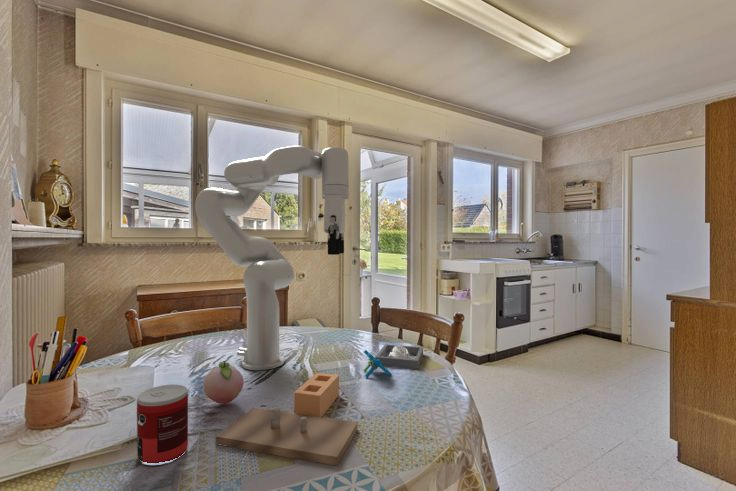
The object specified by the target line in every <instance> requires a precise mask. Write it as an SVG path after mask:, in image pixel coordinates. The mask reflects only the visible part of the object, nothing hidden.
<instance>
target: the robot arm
mask: <svg viewBox="0 0 736 491" xmlns="http://www.w3.org/2000/svg"><path fill="white" fill-rule="evenodd" d="M349 164H350V163H349V152H348V150H346V148H342V147H337V146H334V147H333V146H331V147H327V148H324V149H323V150H322V152H321V153H320V152H318V151H315V150H314V149H311V148H309V147H306V146H304V145H291V146H290V145H289V146H286V147H285V146H284V147H280V148H275V149H273V150H271V151H270V152H269V153H267V154H266V155H265V156H259V157H252V158H247V159H241V160H236V161H233V162H230V163H229V164H227V166H226V167H225V169H224V172H223V173H224V174H223V176H224V179H225V180H226V183H228V184H229V185H230V186H231V187H234V188H236V190H231V189H225V188H224V189H223V188H221V187H219V188H218V187H208V188H204V189H202V190H201V191H200V192H198V194H197V196H196V199H195V204H194V205H195V206H194V209H195V214H196V217H197V219H198V222H199V223H200V225H201V226H202V228H204V230H205V231H206V232H207V233H208V234H209V236H211V238H212V239H214V241H215V242H216V244H218V246H219V247H220V248H221V249H222V250H223V252H224V254H225V255H226V256H227V257H228V258H229V260H230V261H231V262H232V263H233V264H234V265H235V266H238V267H246V268H245V270H244V272H243V278H242V280H243V285H244V291H245V298H246V319H247V320H246V326H247V327H246V332H247V333H246V339H247V340H246V342H247V343H246V347H239V348H238V351H237V352H236V356H239V357H243V359H242V361H241V366H242V368H243V369H246V370H249V371H268V370H271V369H275V368H278V367H281V366H282V365H284V363H285V357H284V356H283V355H281V354H280V302H279V299H278V296H277V293H276V291H277V290H280V289H285V288H288V286H290V285H291V284H292V283H293V281H294V278H295V271H294V268H293V266H292V264H291V263H290V261H289V260H288V259H287V258H286V257H285V255H283V253H282V252H281V251H280V249H279V248H277V247H276V245H275V244H274V243H273V242H272V241H271V240H269V238H268V239H267V238H266V237H262V236H251V235H248V234H247V233H246V232H245V231H244V230H243V229H242V228H241V226H240V225H239V224H238V223H237V222H236V221H234V220H233V219H231V218H230V217H240V216H243V215H245V214H246V213H247V212H249V210H250V209H251V208H252V207H253V205H254V204H255V203H256V201H257V200H258V198H259V197H260V196H261V194H262V193H263V192H264V190H265V189H266V186H271V185H274V184H276V183H278V181H279V178H280V176H284V175H291V174H298V175H301V176H304V177H308V178H311V179H313V180H318V179H321V199H323V200H324V209H323V232H324V233H325V234H327V255H329V256H330V255H332V256H333V255H335V256H336V255H337V256H338V255H340V254H344V253H345V239H344V233H345V231H346V229H345V228H346V200H348V199H350V192H349V191H350V190H349V189H350V187H349V186H350V184H349V182H350V181H349V179H350V178H349V177H350V176H349V174H350V172H349V169H350V168H349Z"/></svg>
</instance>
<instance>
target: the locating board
mask: <svg viewBox="0 0 736 491" xmlns="http://www.w3.org/2000/svg"><path fill="white" fill-rule="evenodd" d="M358 426H359V423H358V421H352V420H344V419H337V418H330V417H324V416H322V417H317V416H310V415H303V414H296V413H294V412H288V411H281V407H279V406H275V407H272V408H270V409H267V408H260V407H251V408H249V409H248V410H247V411H246V412H245V413H243V414H242V415H241V416H239V418H237V419H236V420H234V421H233V422H232V423H231V424H229V426H227V427H226V428H225V429H223V430H222V431H221V432H219V433H218V434H217V435H216V436H215V445H217V444H221V445H220V446H222V445H226V446H225V447H228V446H230V447H229V448H233V449H234V448H235V449H240V450H241V449H242V450H245V451H250V452H251V451H252V452H258V453H263V454H268V455H274V456H279V457H285V458H291V459H297V460H301V459H302V460H303V461H308V462H315V463H318V462H319V464H325V465H331V466H336V467H338V465H339V463H340V461H341V460H342V457H343V456H344V454H345V453H346V451H347V450H348V447H349V445H350V444H351V442H352V440H353V439H354V437H355V435H356V433H357V431H358V428H359V427H358Z"/></svg>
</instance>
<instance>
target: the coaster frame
mask: <svg viewBox="0 0 736 491" xmlns="http://www.w3.org/2000/svg"><path fill="white" fill-rule="evenodd" d="M395 346H402V347H404V348H406V349H407V351H408V353H409V355H411V354H413V356H415V358H410V359H405V358H394V357H389V356H386V355H387V354H388V353H389V354H390V352H393V351H392V350H393V348H394V347H395ZM423 356H424V347H423V346H416V345H415V346H413V345H402V344H401V345H400V344H388V343H385V344H384V345H383V346H382V348H380V350H379V352H377V354H376V355H375V358H376V359H377V360H378V359H379V360H380V361H381V362H380V363H381V364H382V365H383V366H384V367H389V368H390V367H392V368H401V369H413V370H419V367H420V365H421V361H422V358H423Z"/></svg>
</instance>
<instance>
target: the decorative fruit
mask: <svg viewBox="0 0 736 491" xmlns="http://www.w3.org/2000/svg"><path fill="white" fill-rule="evenodd" d="M205 375H206V376H205V377H204V379H203V386H202V387H203V388H202V389H203V391H204V394H205V396H206V397H207V398H208V399H209V400H210V401H213V402H214V403H216V404H221V405H227V404H230V403H231V402H233V401H234V400H235V399H236V398H237V397H238V396H239V395H240V394H241V391H242V390H243V387H244V383H245V380H244V377H243V374H242V373H241V372H240V371H239V370H238V369H237V368H236V367H235V366H233V365H231V364H230V363H229V362H226V361H223V362H220V363H218V365H217V367H213V368H212V369H211V370H209V372H207V374H205Z"/></svg>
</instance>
